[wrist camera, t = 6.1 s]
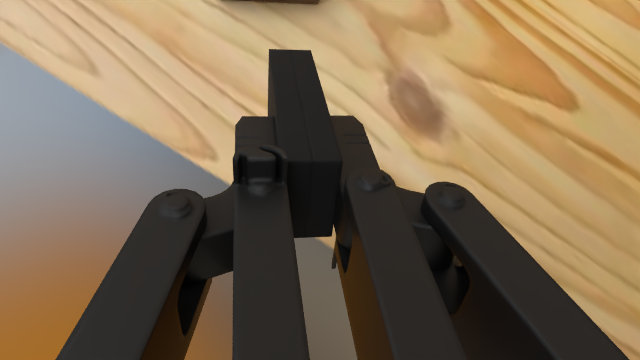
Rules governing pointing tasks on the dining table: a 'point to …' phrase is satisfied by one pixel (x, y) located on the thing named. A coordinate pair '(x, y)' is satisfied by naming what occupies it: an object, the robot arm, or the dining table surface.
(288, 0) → the brown wooden tray
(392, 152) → the dining table surface
